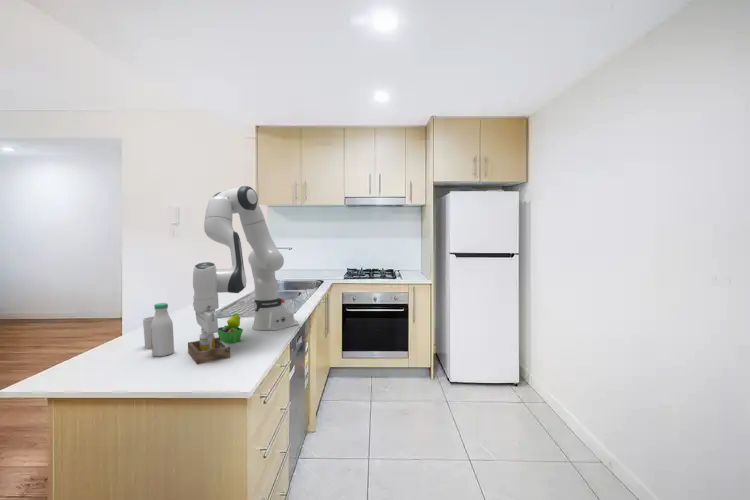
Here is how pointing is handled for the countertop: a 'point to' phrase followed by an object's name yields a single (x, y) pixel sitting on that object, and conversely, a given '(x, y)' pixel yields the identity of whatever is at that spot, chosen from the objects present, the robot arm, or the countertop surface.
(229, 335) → the fruit basket
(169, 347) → the milk bottle
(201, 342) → the supplement bottle
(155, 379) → the countertop surface
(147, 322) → the mug
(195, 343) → the wooden bar rack
